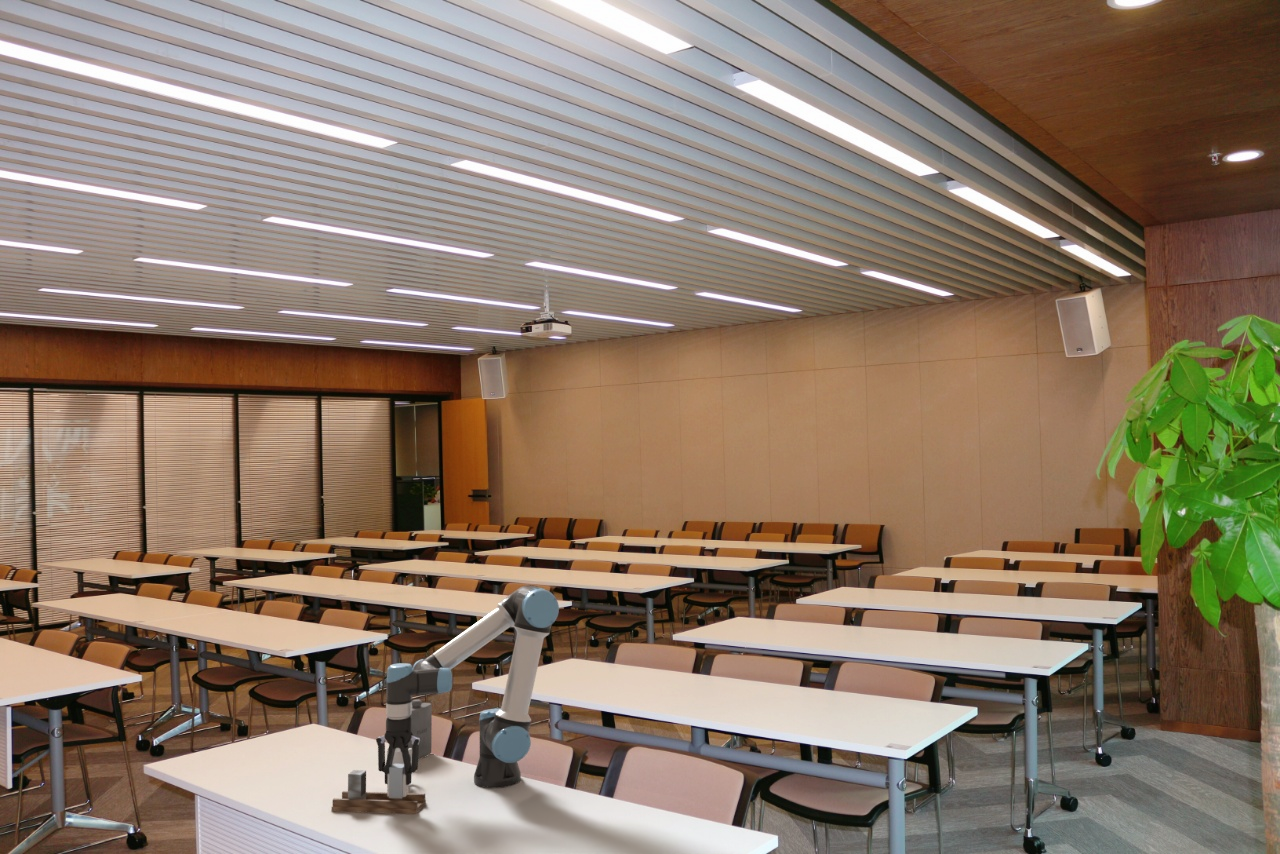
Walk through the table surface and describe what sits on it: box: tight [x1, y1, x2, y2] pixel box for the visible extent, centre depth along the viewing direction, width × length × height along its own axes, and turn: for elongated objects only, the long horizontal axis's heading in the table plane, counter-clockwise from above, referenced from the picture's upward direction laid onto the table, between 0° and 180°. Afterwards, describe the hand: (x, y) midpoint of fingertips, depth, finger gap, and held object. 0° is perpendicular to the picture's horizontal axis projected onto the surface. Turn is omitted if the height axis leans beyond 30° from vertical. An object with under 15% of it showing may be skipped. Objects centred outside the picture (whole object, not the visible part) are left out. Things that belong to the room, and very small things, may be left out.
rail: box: [331, 769, 427, 815], centre depth 288 cm, size 26×9×10 cm, turn 83°
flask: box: [408, 699, 433, 761], centre depth 340 cm, size 15×6×20 cm, turn 152°
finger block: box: [389, 764, 405, 799], centre depth 287 cm, size 4×4×9 cm
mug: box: [386, 747, 412, 765], centre depth 309 cm, size 10×7×12 cm, turn 141°
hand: (397, 794), depth 287 cm, fingers closed on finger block, 4 cm apart
